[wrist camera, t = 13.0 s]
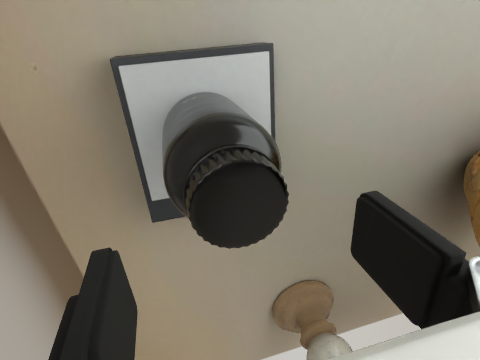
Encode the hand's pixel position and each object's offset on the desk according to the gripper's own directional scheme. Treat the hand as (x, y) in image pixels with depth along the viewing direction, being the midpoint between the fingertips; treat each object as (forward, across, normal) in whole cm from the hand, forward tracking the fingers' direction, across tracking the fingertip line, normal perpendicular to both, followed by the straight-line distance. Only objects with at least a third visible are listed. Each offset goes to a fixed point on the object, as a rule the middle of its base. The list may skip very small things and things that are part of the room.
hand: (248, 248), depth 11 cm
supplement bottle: (+15, 0, 0) cm, 15 cm away
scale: (+17, -1, +1) cm, 17 cm away
